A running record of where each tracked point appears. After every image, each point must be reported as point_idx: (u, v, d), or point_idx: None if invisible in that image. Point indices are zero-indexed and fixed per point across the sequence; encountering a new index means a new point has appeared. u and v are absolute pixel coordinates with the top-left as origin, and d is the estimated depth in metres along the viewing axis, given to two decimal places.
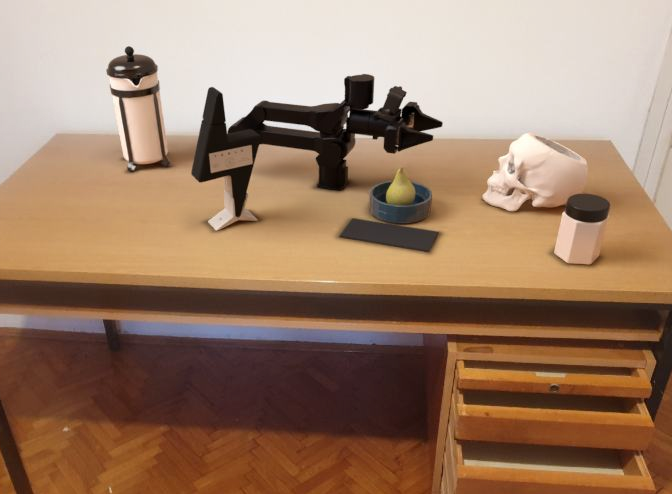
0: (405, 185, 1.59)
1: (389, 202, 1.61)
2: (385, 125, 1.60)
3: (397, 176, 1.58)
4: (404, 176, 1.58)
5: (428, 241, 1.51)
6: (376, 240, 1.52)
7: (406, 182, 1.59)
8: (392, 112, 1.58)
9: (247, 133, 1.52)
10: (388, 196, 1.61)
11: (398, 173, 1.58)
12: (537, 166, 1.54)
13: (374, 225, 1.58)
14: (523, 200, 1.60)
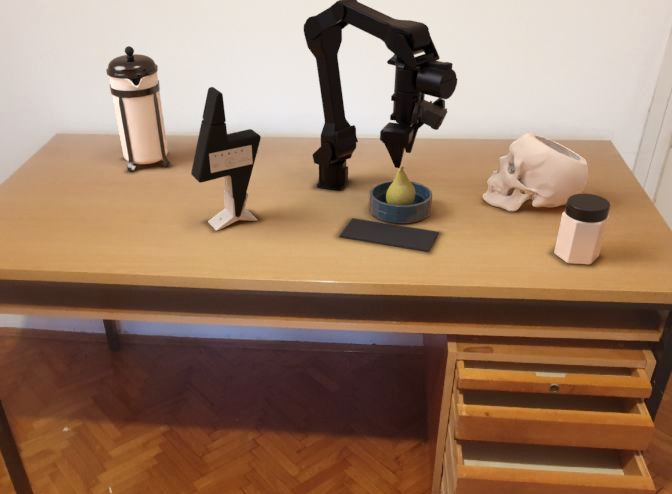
0: (405, 185, 1.59)
1: (389, 202, 1.61)
2: (407, 112, 1.48)
3: (397, 176, 1.58)
4: (404, 176, 1.58)
5: (428, 241, 1.51)
6: (376, 240, 1.52)
7: (406, 182, 1.59)
8: (420, 119, 1.48)
9: (247, 133, 1.52)
10: (388, 196, 1.61)
11: (398, 173, 1.58)
12: (537, 166, 1.54)
13: (374, 225, 1.58)
14: (523, 200, 1.60)
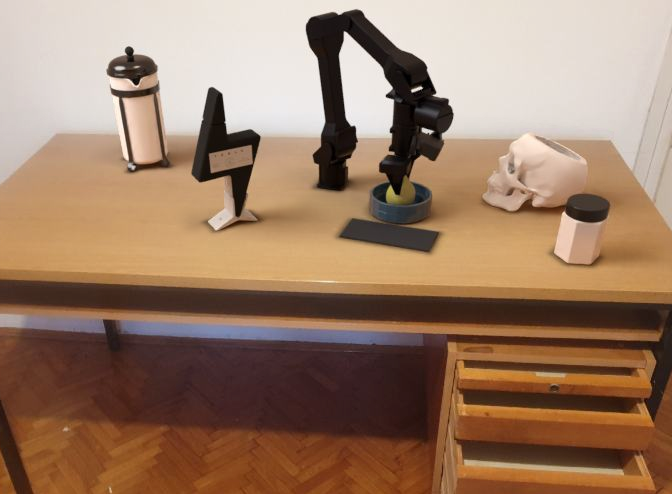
0: (405, 185, 1.59)
1: (389, 202, 1.61)
2: (405, 144, 1.52)
3: None
4: None
5: (428, 241, 1.51)
6: (376, 240, 1.52)
7: (406, 182, 1.59)
8: (418, 151, 1.52)
9: (247, 133, 1.52)
10: (388, 196, 1.61)
11: None
12: (537, 166, 1.54)
13: (374, 225, 1.58)
14: (523, 200, 1.60)
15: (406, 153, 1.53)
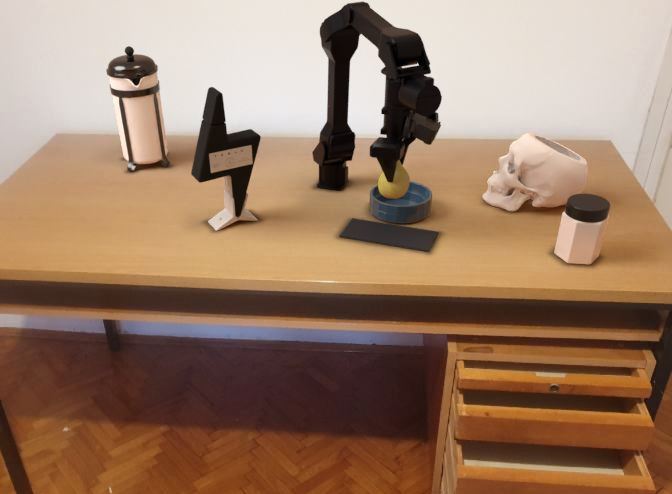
0: (398, 171, 1.46)
1: (381, 190, 1.49)
2: (398, 126, 1.39)
3: None
4: (397, 162, 1.46)
5: (428, 241, 1.51)
6: (376, 240, 1.52)
7: (400, 169, 1.46)
8: (412, 134, 1.40)
9: (247, 133, 1.52)
10: (380, 184, 1.48)
11: None
12: (537, 166, 1.54)
13: (374, 225, 1.58)
14: (523, 200, 1.60)
15: (399, 136, 1.41)
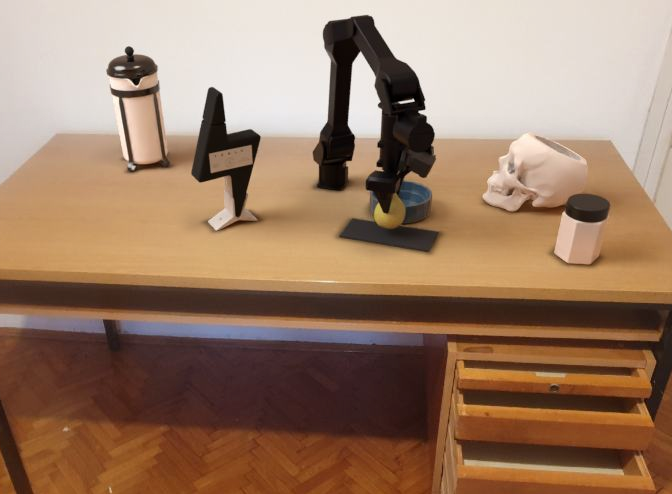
0: (394, 203, 1.48)
1: (377, 220, 1.51)
2: (393, 160, 1.41)
3: None
4: None
5: (428, 241, 1.51)
6: (376, 240, 1.52)
7: (396, 200, 1.48)
8: (408, 167, 1.42)
9: (247, 133, 1.52)
10: (376, 214, 1.50)
11: None
12: (537, 166, 1.54)
13: (374, 225, 1.58)
14: (523, 200, 1.60)
15: (395, 169, 1.43)
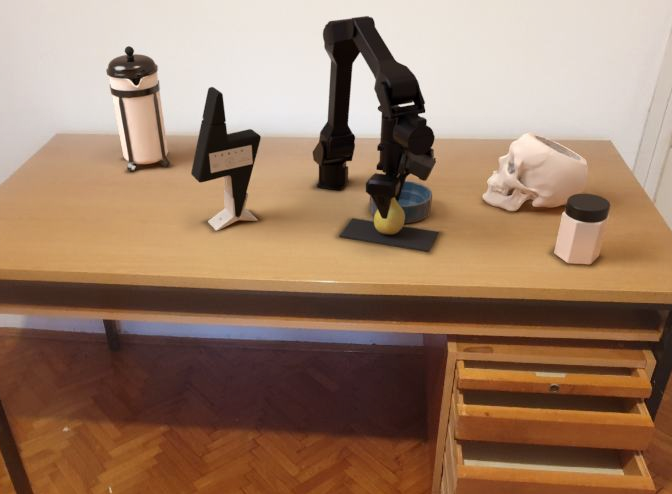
0: (393, 209, 1.49)
1: (377, 227, 1.52)
2: (393, 162, 1.42)
3: None
4: (393, 199, 1.49)
5: (428, 241, 1.51)
6: (376, 240, 1.52)
7: (395, 206, 1.49)
8: (408, 170, 1.42)
9: (247, 133, 1.52)
10: (376, 220, 1.51)
11: None
12: (537, 166, 1.54)
13: (374, 225, 1.58)
14: (523, 200, 1.60)
15: (395, 172, 1.43)
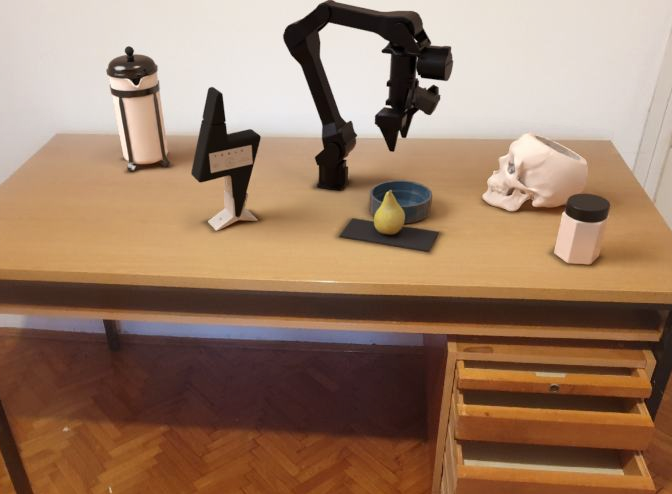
0: (393, 209, 1.49)
1: (377, 227, 1.52)
2: (401, 98, 1.54)
3: (385, 199, 1.49)
4: (393, 199, 1.49)
5: (428, 241, 1.51)
6: (376, 240, 1.52)
7: (395, 206, 1.49)
8: (414, 105, 1.54)
9: (247, 133, 1.52)
10: (376, 220, 1.51)
11: (386, 196, 1.48)
12: (537, 166, 1.54)
13: (374, 225, 1.58)
14: (523, 200, 1.60)
15: (402, 107, 1.55)
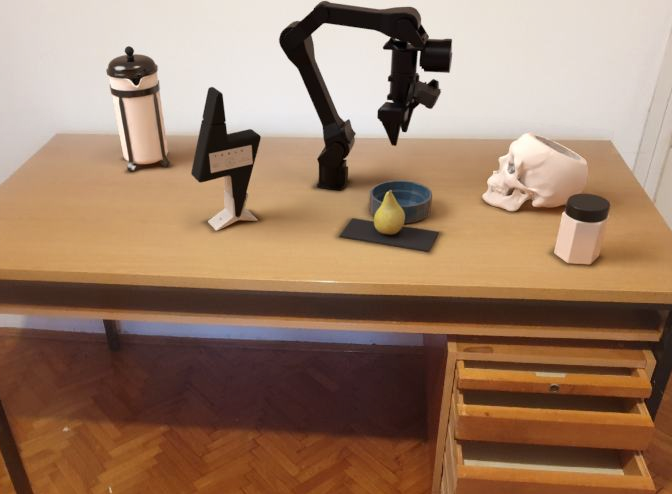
0: (393, 209, 1.49)
1: (377, 227, 1.52)
2: (402, 92, 1.57)
3: (385, 199, 1.49)
4: (393, 199, 1.49)
5: (428, 241, 1.51)
6: (376, 240, 1.52)
7: (395, 206, 1.49)
8: (416, 99, 1.57)
9: (247, 133, 1.52)
10: (376, 220, 1.51)
11: (386, 196, 1.48)
12: (537, 166, 1.54)
13: (374, 225, 1.58)
14: (523, 200, 1.60)
15: (404, 101, 1.58)
